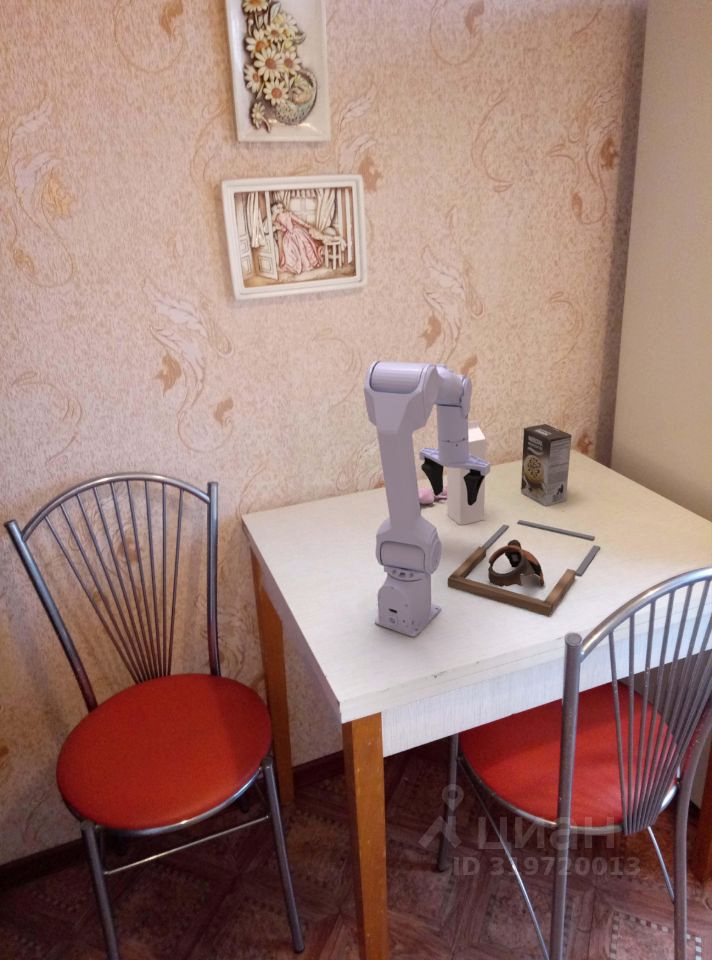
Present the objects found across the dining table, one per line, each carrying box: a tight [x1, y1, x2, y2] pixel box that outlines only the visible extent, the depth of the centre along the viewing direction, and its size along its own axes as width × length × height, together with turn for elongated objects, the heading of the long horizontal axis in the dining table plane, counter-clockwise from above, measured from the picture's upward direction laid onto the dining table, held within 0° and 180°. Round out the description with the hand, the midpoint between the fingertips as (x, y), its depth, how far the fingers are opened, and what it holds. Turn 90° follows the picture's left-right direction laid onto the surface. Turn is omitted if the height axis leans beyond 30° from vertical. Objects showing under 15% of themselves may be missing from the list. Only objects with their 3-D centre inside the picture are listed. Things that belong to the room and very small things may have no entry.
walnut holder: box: [447, 546, 576, 617], centre depth 124 cm, size 14×19×2 cm
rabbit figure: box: [418, 485, 447, 505], centre depth 157 cm, size 6×6×15 cm
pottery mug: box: [487, 539, 545, 588], centre depth 124 cm, size 12×10×8 cm
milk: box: [446, 420, 487, 526], centre depth 145 cm, size 6×6×22 cm
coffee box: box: [520, 423, 573, 507], centre depth 154 cm, size 9×6×16 cm
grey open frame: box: [481, 519, 601, 577], centre depth 136 cm, size 16×20×1 cm
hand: (455, 498), depth 134 cm, fingers open, 7 cm apart
